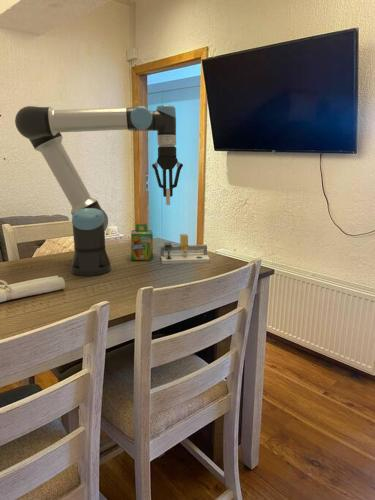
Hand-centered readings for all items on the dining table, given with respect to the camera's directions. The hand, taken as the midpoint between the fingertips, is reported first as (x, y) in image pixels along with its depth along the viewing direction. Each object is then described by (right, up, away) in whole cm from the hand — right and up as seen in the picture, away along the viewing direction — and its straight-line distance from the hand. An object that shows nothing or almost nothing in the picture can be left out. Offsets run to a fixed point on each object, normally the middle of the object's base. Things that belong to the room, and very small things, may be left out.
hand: (168, 204), depth 160 cm
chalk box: (-12, -23, +7) cm, 27 cm away
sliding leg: (+7, -21, +4) cm, 23 cm away
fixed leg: (0, -22, +3) cm, 22 cm away
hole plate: (+7, -23, +4) cm, 25 cm away
